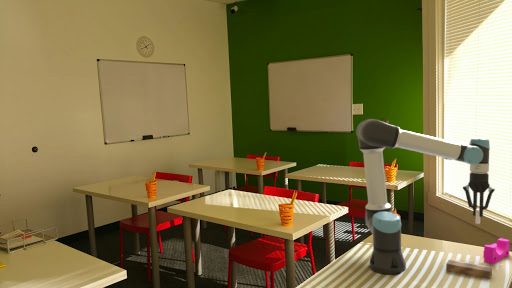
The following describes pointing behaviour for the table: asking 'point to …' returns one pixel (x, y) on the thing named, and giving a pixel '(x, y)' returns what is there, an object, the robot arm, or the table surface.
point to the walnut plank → (469, 269)
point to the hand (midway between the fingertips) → (477, 223)
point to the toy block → (496, 251)
